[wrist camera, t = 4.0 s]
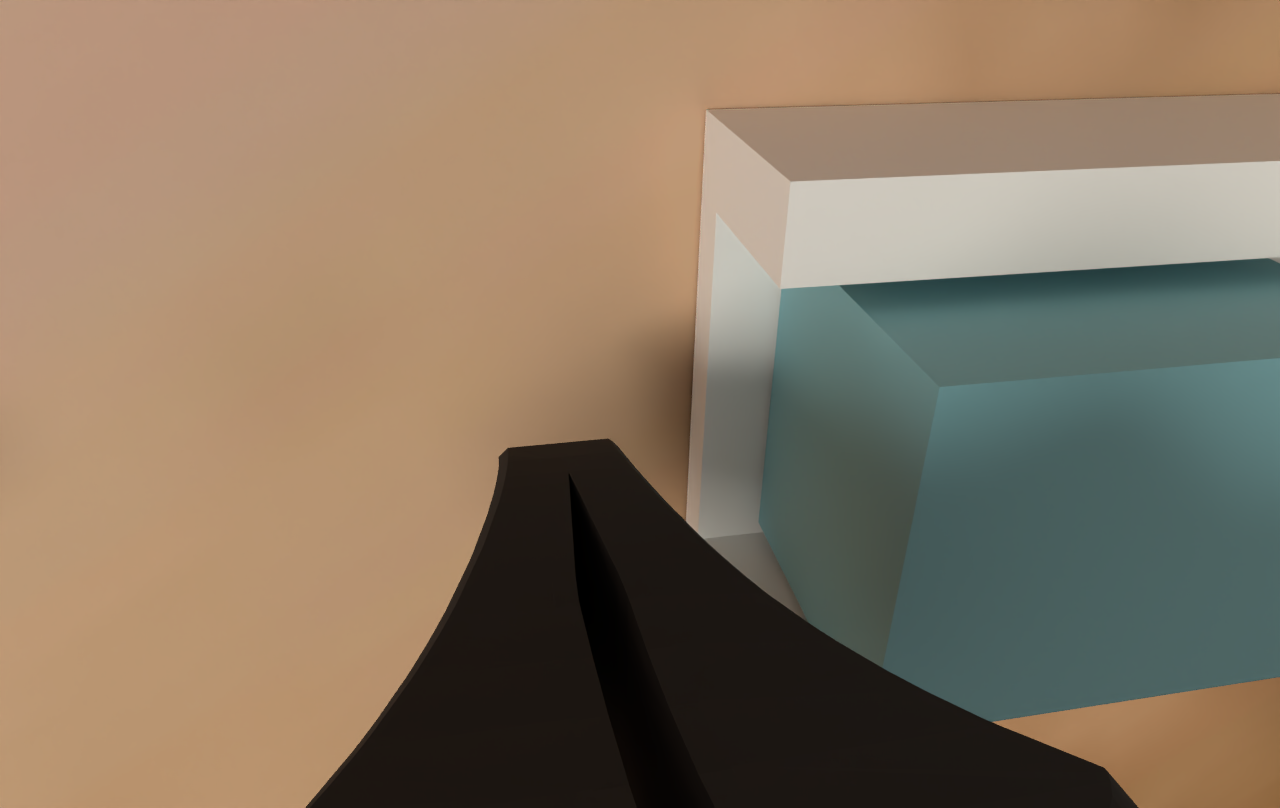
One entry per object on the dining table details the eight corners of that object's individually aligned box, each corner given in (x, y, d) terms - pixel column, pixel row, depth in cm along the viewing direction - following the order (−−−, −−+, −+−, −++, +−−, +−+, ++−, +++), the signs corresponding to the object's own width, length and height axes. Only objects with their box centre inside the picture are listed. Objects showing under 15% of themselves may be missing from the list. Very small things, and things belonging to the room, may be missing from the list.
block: (758, 522, 15) (867, 740, 11) (787, 233, 13) (939, 387, 9) (1083, 486, 16) (1284, 676, 12) (1168, 213, 14) (1455, 343, 10)
